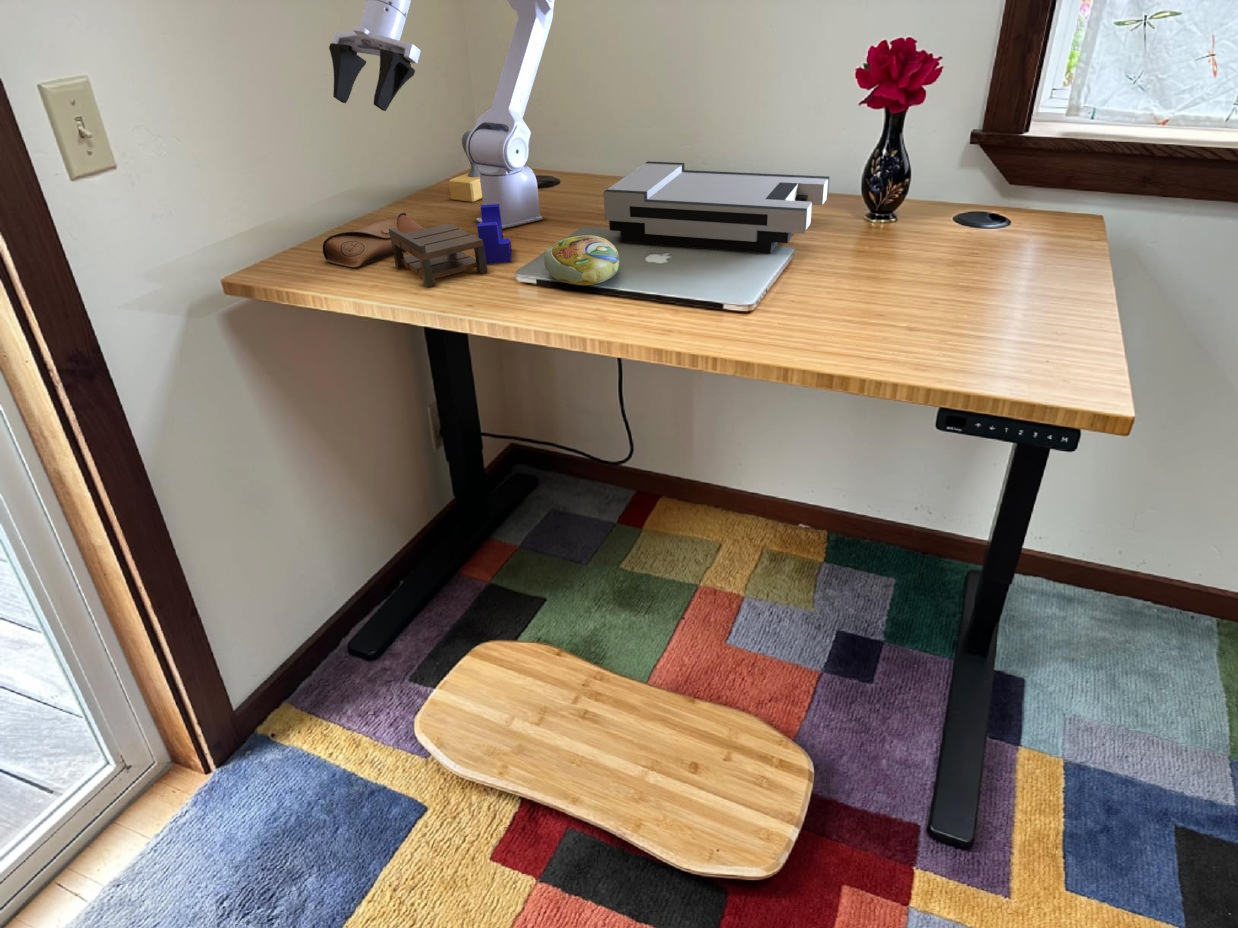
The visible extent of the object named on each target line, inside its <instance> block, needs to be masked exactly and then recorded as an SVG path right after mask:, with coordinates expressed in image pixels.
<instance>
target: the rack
mask: <svg viewBox="0 0 1238 928" xmlns="http://www.w3.org/2000/svg"><path fill="white" fill-rule="evenodd" d="M389 234H390V236H391V242H392V243H391V244H392V250H393V254H392V255H393V259H394V265H395V268H396V269H398V270H402V269H403V270H404V269H406V268H408V269H409V270H411V271H413V273H416V274H417V275H419V276H420V277H422V283H423V287H425V288H433V287H435V279H439V278H442V277H445V276H451V275H454V274H457V273H462V272H466V271H470V270H474V269H476V272H477V273H478V274H480V275H481V274H486V273H488V264H486V256H485V249H484V245H483V240H482V239H480V238H479V237H478V236H476V235H474V234H472V233H470V232H468V231H465V230H464V229H461V228H460V227H457V226H456V225H454V224H451V223H445V224H441V225H437V226H436V225H435V226H432V227H427V228H424V229H422V230H418V231H413V232H409V233H402V232H400V231H398V230H396V229H395V228H389ZM402 249H403V250H404V251H405V252H407V253H408V254H409V255H407V256H405V255H404V251H403V250H402ZM468 250H473V251H474V257H473V256H470V255H469V254H466V253H465V251H468Z"/></svg>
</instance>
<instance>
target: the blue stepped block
mask: <svg viewBox="0 0 1238 928" xmlns="http://www.w3.org/2000/svg"><path fill="white" fill-rule="evenodd" d="M480 215H481V216H480V217H482V223H480V222H478V223H477V224H476V229H477V237H478V238H480V239H482V240H483V245H484V249H485V256H486V264H487V265H493V264H505V263H512V255H513V254H512V251H513V248H512V241H511V240H510V238H508V237H507V238H504V232H503V229H502V222H501V214H500V206H499V204H491V205H483V204H481V205H480Z"/></svg>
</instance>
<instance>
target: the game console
mask: <svg viewBox="0 0 1238 928" xmlns="http://www.w3.org/2000/svg"><path fill="white" fill-rule="evenodd" d="M830 178H831V177H830V176H826V175H825V176H824V175H804V174H803V175H802V174H783V173H781V174H779V173H762V172H761V173H760V172H759V173H758V172H735V171H716V170H714V171H712V170H692V169H691V170H689V169H688V170H687V169H685V162H671V161H649V160H647V161H646V162H644V163H643V164H641V165H640V166H638V167H637V168H636V169H634V170H633V171H631V172H629V174H627V175H625V176H624V177H623V178H621V179H620V180H619V181H617V182H615V183H614V184H612V185H611V186H609V187H608V188H606V189H605V190H604V191H603V208H604V210H603V211H604V221H608V226H609V231H610V232H620V243H628V244H639V245H650V246H651V245H652V246H653V245H654V246H667V247H680V248H693V249H705V250H706V249H707V250H719V251H733V252H747V253H758V254H759V253H760V254H772V252H774V250H775V249H776V247H777V246H778V244H779V243H781V244H788V243H789V242H790V240H791V239H792V238H793V236H794V235H795V234H802V235H804V234H805V233H806V231H807V229H808V228H809V227H810V225H811V221H812V209H813V206H824V204H825V202H826V201H827V199H828V198H829V189H830ZM812 205H813V206H812Z"/></svg>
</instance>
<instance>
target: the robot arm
mask: <svg viewBox="0 0 1238 928" xmlns="http://www.w3.org/2000/svg"><path fill="white" fill-rule="evenodd" d="M555 1H556V0H507V2H508V3H509V5H510V8H512V10H514V11H515V12H516V14H517V20H516V24H515V27H514V31H513V34H512V38H511V41H510V44H509V47H508V51H507V54H506V58H505V61H504V64H503V68H502V71H501V74H500V78H499V81H498V83H497V87H496V90H495V94H494V98H493V101H492V104H491V107H489V109H488V110H486V111H485V112H483V113H482V114H481V115H480V116H479V117H478V118H477V120H476V123H475V126H474V127H473V129H472V130H470V131H471V132H470V134H469V136H468V138H467V142H466V151H467V155H468V157H469V159H470V161H471V162H472V163H473V164H475V166H476V171H479V176H480V184H481V191H482V198H481V199H482V205H491V204H499V206H500V214H501V222H502V230H503V229H508V228H511V227H516V226H520V225H525V224H529V223H533V222H537V221H542V220H543V219H544V218H543V216H541V211H540V210H541V209H540V199H539V197H540V196H539V188H538V181H537V177H536V174H535V172H534V171H533V170H532V168H531V167H529V166H528V165H526V163H527V162H528V158H529V143H530V138H531V134H532V132H531V130H530V129H529V126H528V125H527V124H526V122H525V121H524V119H523V118H524V115H525V112H526V109H527V105H528V102H529V98H530V96H531V92H532V89H533V85H534V82H535V79H536V75H537V72H538V69H539V67H540V66H539V65H540V62H541V59H542V55H543V52H544V49H545V46H546V42H547V39H548V35H549V32H550V30H551V26H552V22H553V18H554V6H555ZM411 2H412V0H365V4H364V7H363V12H362V14H361V18H360V21H359V26H356V25H355V26H354V28H353V30H350V31H343V32H339V31H335V32H334V33H333V34H334V35H333V38H332V41H331V43H330V44H329V46H328V49H329V52H330V53H329V54H330V57H331V63H332V68H333V98H334V99H336V100H337V101H339V102H341V103H343V104H347V102H348V101H349V99H350V97H351V93H352V90H353V87H354V84H355V82H356V80H357V78H358V76H359V74H360V73H361V71H362V69H363V68H364V67H365V66H366V64H367V60H366V59H364V58H362V57H361V56H360V55H358V54H365V55H373V56H379V72H378V79H377V83H376V87H375V90H374V95H373V106H375V107H377V108H378V109H379V110H381V111H383V112H386V111H387V110H388V108H389V106H390V105H391V103H392V102H393V100H394V98H395V96H396V95H397V94H398V92H399V91H400V89H401V88H402V87H403V86H404V85H405V84H406V83H407V82H408V81H409V80H410V79H411V78H413V77H414V76H415V73H416V69H414V67H412V64H416V65H417V64H418V63H419V59H420V55H421V52H422V50H421V49H419V47H418V46H416V45H415V44H414V43H410V42H405V41H401V37H402V35H403V30H404V28H405V23H406V20H407V16H408V14H409V10H410V6H411ZM467 155H466V156H467ZM468 157H467V158H468ZM469 159H468V160H469ZM470 161H469V162H470ZM475 221H476V222H478V223H482V216H480V217H477V218H476V219H475Z"/></svg>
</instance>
